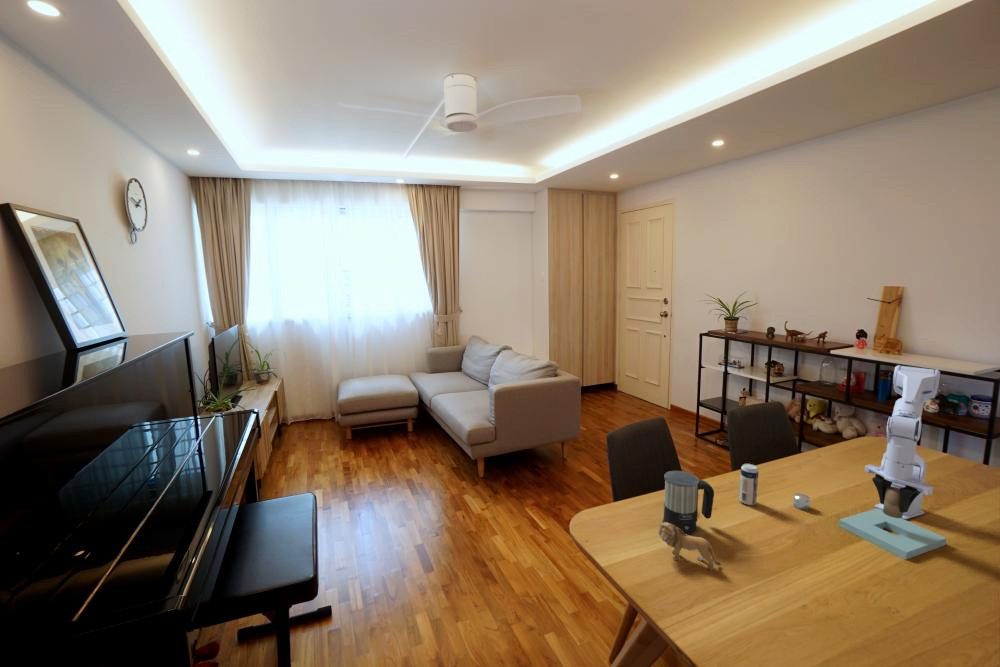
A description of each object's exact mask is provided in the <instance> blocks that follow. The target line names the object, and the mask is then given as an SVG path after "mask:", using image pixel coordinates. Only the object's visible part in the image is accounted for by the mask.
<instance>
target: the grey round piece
mask: <svg viewBox="0 0 1000 667" xmlns="http://www.w3.org/2000/svg"><path fill="white" fill-rule="evenodd" d="M810 501H811V498H810V496H809V495H806V494H803V493H800V492H799V493H798V492H797V493H794V494H793V504H792V506H793V507H794V508H795V509H797V510H800V511H809V509H810Z"/></svg>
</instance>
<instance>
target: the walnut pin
mask: <svg viewBox="0 0 1000 667" xmlns="http://www.w3.org/2000/svg"><path fill="white" fill-rule="evenodd" d="M900 503H901V495H900V489H899V488H896V487H886V491H885V499H884V507H883V513H884V514H886V515H888V516H890V517H894V518H902V516H903V513H902V512H900ZM902 519H903V518H902Z"/></svg>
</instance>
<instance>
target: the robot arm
mask: <svg viewBox="0 0 1000 667" xmlns="http://www.w3.org/2000/svg"><path fill="white" fill-rule="evenodd" d="M940 376H941V371H940V370H939V369H937V368H935V369H930V368H922V367H915V366H906V365H900V364H898V365H896V366H895V367H894V371H893V378H892V379H893V380H892V384H893V390H894V392H895V393H896V394H898V395H900V396H901V398H898V399H897V400H895V404H894V406H893V411H892V414H891V416H888V420H887V423H886V442H887V445H886V451H885V452H884V453H883V456H882V459H881V462H880V464H881V465H880V466H876V465H873V464H867V465H865V467H864V472H865V473H867V474H871V475H875V476H874V477H872V479H871V481H872V482H873V484H874V486H875V488H876V491H877V494H878V497H879V503H877V504H875V505H874V506H875V508H879V509H881V510H883V507H884V499H885V491H886V487H896V488H899V489H900V495H901V503H900V512H902V513H903V516H902V519H904V520H908V519H911V518H914V517H918V516H921V515H924V514H925V511H923V510H922V504H923V495H926V496H931V495H932V494H933V493H934V487H933V486H931V485H928V484H926V483H925V480H926V474H927V462H926V460H925V459H924V458H923V457H921V455H919V454H918V453H917V452H916V451H917V444H918V442H919V440H920V439H921V438H920V437H921V432H922V426H923V425H922V415H923V410H924V405H925V403H926V401H927V400H930V399H935V398H936V395H937V394H938V389H939V383H940Z"/></svg>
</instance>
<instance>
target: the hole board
mask: <svg viewBox="0 0 1000 667" xmlns="http://www.w3.org/2000/svg"><path fill="white" fill-rule="evenodd" d="M838 527H840V528H841V529H844V530H845V531H848V532H849V533H851V534H854V535H855V536H858V537H860V538H861V539H864V540H865V541H868V542H869V543H871V544H873V545H875V546H877V547H879V548H881V549H884V550H886V551H887V552H889V553H892V554H893V555H895V556H897V557H899V558H901V559H903V560H909V559H912V558H915V557H917V556H920V555H922V554H926V553H928V552H930V551H933V550H935V549H939V548H941V547H944V546H946V543H947V537H945V536H942V535H940V534H939V533H935V532H933V531H931V530H929V529H926V528H924V527H922V526H921V525H920V526H919V525H918V524H915V523H913V522H911V521H908V520H907V519H903V518H894V517H890V516H888V515H886V514H884V513H883V510H882V509H880V508H877V507H875V508H873V509H869V510H866V511H863V512H859V513H857V514H854V515H850V516H846V517H843V518H840V519H838ZM884 529H887V530H889V531H890V532H889V531H887V530H884ZM891 532H893V533H895V534H897V535H895V534H893V533H891Z"/></svg>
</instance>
